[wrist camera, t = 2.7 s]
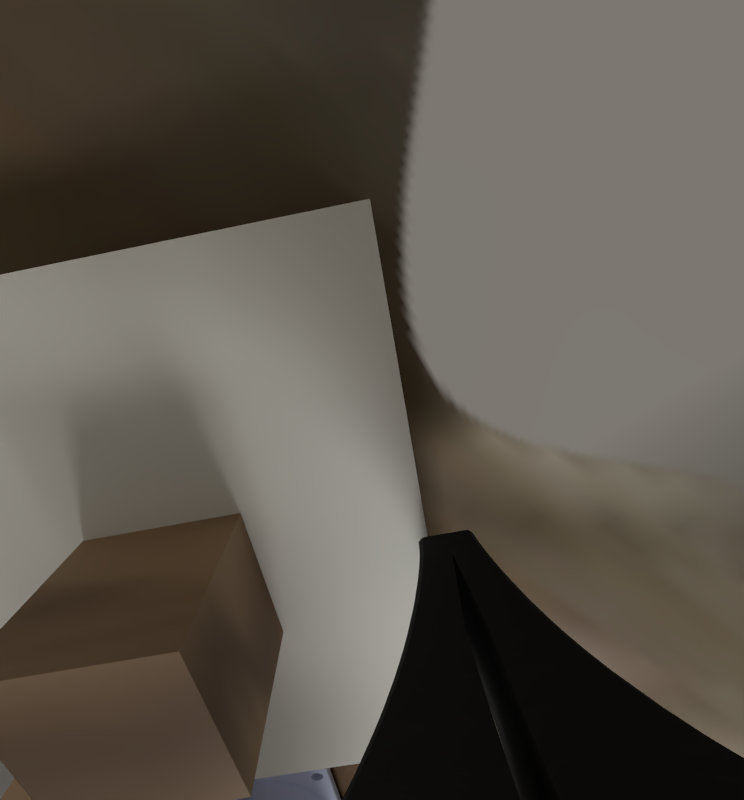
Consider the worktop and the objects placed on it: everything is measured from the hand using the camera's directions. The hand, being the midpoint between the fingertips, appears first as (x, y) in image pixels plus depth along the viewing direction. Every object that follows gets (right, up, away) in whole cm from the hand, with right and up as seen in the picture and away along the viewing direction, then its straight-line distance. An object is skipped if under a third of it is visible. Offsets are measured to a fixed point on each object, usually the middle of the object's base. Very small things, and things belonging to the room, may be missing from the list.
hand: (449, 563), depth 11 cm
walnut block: (-7, -1, +1) cm, 7 cm away
